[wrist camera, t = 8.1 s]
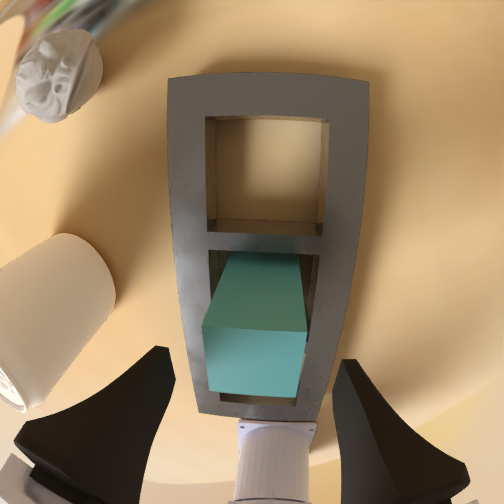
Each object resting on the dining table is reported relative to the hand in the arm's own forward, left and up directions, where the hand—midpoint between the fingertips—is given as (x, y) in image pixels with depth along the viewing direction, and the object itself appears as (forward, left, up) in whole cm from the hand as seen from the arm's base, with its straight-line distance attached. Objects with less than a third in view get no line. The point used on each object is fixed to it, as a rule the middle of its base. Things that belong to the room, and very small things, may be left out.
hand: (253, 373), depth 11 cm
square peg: (0, 0, -8) cm, 8 cm away
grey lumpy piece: (+14, +12, -8) cm, 20 cm away
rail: (0, 0, -8) cm, 8 cm away
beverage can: (-1, +15, -8) cm, 17 cm away
